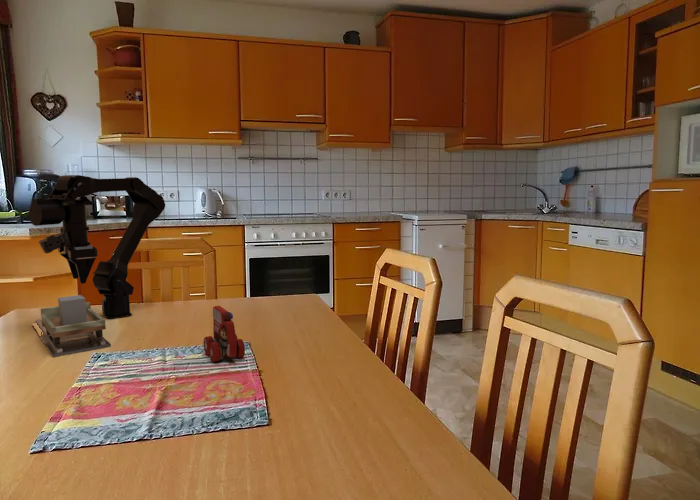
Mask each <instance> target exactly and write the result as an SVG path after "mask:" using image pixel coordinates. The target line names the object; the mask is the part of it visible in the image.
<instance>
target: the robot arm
mask: <svg viewBox="0 0 700 500" xmlns="http://www.w3.org/2000/svg"><path fill="white" fill-rule="evenodd" d="M101 192H103V193H105V192H107V193H108V192H109V193H110V192H126V193H127V196H128V198H129V200H130V201H131V202H132V203H133V207H132V214H133V215H132V219H131V221H130V222H129V224H128V226H127V228H126V230H125V231H124V234H123V235H122V237H121V239H120V240H119V243H118V245H117V246H116V247H115V250H114V251H113V253H112V255H111V257H110V259H108V260H107V261H102V260H100V261H99V262H98V264H97V266H96V269H95V270H94V271H93V272H92V275H93V277H92V282H93V285H94V287H95V288H96V289H97V291H98V294H100V296H101V295H102V296H103V300H101V311H102V315H103V316H104V317H105V316H106V317H107V319H108V320H111V318H112V319H117V318H122V317H123V318H124V317H130V316H133V313H131V308H130V307H131V306H130V296H131V295H133V293H134V289H135V287H134V286H133V285H132V284H131V283H130V282H128V281H127V278H128V276H129V275H128V271H129V270H128V269H129V268H128V266H129V263H130V261H131V259H132V258H133V256H134V254H135V252H136V250H137V248H138V246H139V244H140V243H141V240H142V238H143V237H144V235H145V234H146V231H147V229H148V227H149V226H150V224H151V223H152V222H154V221H156V219H158V218H159V217H160V216H161V214H162V213H163V212H164V211H165V208H166V202H165V200H164V197H163V196H162V195H160V194H158V192H157V191H156V190H154V188H152V187H150V186H148V185H147V184H146V183H144V181H142V179H141V178H138V177H136V176H134V177H125V178H124V177H122V178H94V177H91V176H85V175H80V174H71V175H69V174H68V175H67V174H66V175H60V176H59V177H58V178H57V179H56V181H55V186H54V188H53V189H52V191H51V193H50V194H49V196H48V197H47V198H42V197H41V198H40V197H39V198H36V197H35V198H32V199H31V200H32V203H31V205H30V206H29V211H28V218H29V220H30V223H31V224H32V225H33V226H35V227H39V226H52V225H59V224H61V223H62V226H61V227H60V229H59V230H60V231H59V233H56V234H51V235H50V236H46V237H45V238H43V239H40V240H38V244H39V245H40V248H41V249H42V251H43V253H45V254H46V255H47V254H50V253H52V252H53V251H55V250H57V253H59V255H60V256H61V257H63V258H64V259H65V260H66V263H67V264H68V267H69V270H70V273H71V275H72V279H74V280H75V279H76V280H77V279H78V280H79V283H80V284H82V285H84V284H86V283H87V280H88V279H89V278H88V277H89V276H90V273H91V270H92V267H93V265H94V264H95V261H96V259H97V257H98V249H97V248H96V247H95V246H93V245H92V244H91V241H89V235H88V232H89V231H90V227H89V226H88V221H87V219H88V218H87V206H93V205H94V202H93V201H92V200H91V199H89V198H88V196H90V195H93V194H96V193H101ZM77 198H78V199H77ZM64 202H65V203H64ZM106 317H105V318H106Z"/></svg>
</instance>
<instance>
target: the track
mask: <svg viewBox="0 0 700 500" xmlns="http://www.w3.org/2000/svg"><path fill="white" fill-rule="evenodd" d="M35 323H37V325H38V326H39V328H40V329H41V330H42V332H43V335H42V332H41V336H40V337H41V338H42V340H43V341H44V343H45V344H46V346H47V348H48V349H49V351H50V352H49V351H48V352H49V353H51V354H52V355H51V354H50V355H51V357H52V356H57V357H61V356H60V355H63V356H66V355H65V354H68V355H73V354H72V353H74V354H77V353H78V352H79V353H82V352H83V353H84V352H89V351H94V350H100V349H106V348H111V347H112V345H111V343H110V342H109V341H108V340H107V339H106V338H105V337H104V336H102V337H101V338H97V337H96V331H92V332H86V333H80V334H74V335H68V336H62V337H59V338H60V345H54V343H53V338H52V336H51V335H48V336H47V333H46V328H45V327H42V320H41V319H35ZM40 337H39V338H40ZM42 340H41V341H42ZM44 343H43V344H44ZM46 346H45V347H46ZM47 348H46V349H47ZM48 349H47V350H48ZM79 353H78V354H79Z"/></svg>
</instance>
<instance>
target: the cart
mask: <svg viewBox="0 0 700 500" xmlns="http://www.w3.org/2000/svg"><path fill="white" fill-rule="evenodd" d="M85 303H86V316H87V322H85V323H78V324H72V325H65V326H63V325H62V324H61V323H60V317H59V305H57V306H50V307H49V306H48V307H42V308H40V315H41V316H40V317H41V319H40V320H41V321H42V327H45V328H46V333H47V336H48V335H51V336H52V338H53V343H54V345H60V338H59V337H62V336H68V335H74V334H80V333H86V332H92V331H96V337H97V338H101V337H102V336H103V330H106V329H107V327H106V319H104V318H103V317H102V316H101V315H100V314H98V313H97V312H96V311H95V310H94V309H93V308H92V307H91V302H90V301H87V302H86V301H85ZM103 337H104V336H103Z"/></svg>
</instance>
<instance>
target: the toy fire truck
mask: <svg viewBox="0 0 700 500" xmlns="http://www.w3.org/2000/svg"><path fill="white" fill-rule="evenodd" d="M212 317H213V327H212V328H213V336H212V335H211V336H210V335H209V336H204V338H203V350H204V354H205V355H206V356H209V357H210V360H211V362H213V363H216V362H219V361H221V358H223V357H229V358H235V357H236V358H237V359H239V358H243V357H244V356H245V353H246V347H245V343H244V340H243V339H242V338H238V336H237V334H236V329H235V323H234V321H233V320H232V319H233V318H234V315H233V313H232V312H230V311H228V310H226V308H224V307H222V306H221V305H215V306H213V307H212Z"/></svg>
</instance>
